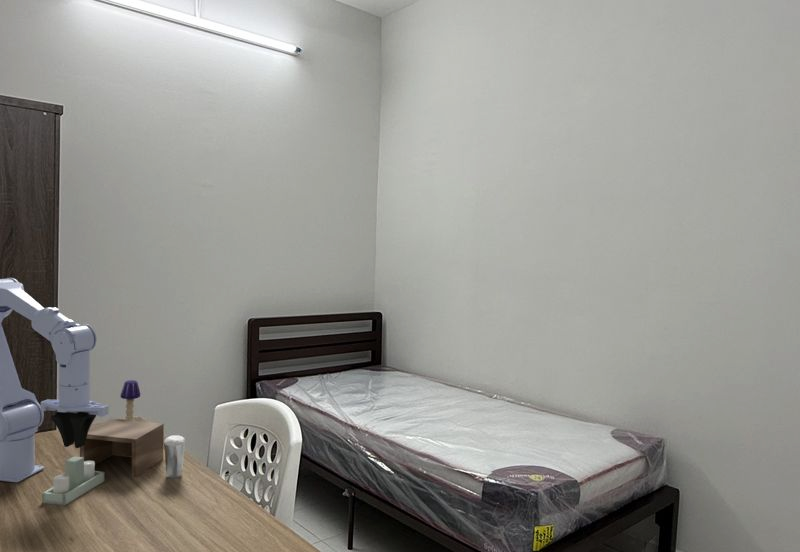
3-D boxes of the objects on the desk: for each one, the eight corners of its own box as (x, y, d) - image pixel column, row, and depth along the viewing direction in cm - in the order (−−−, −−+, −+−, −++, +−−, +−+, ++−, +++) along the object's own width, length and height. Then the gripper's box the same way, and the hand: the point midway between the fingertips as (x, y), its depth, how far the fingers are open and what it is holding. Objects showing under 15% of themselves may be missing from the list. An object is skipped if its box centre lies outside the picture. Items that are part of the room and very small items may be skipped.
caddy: (42, 502, 117) (42, 469, 117) (84, 478, 129) (84, 447, 128) (64, 505, 116) (64, 471, 116) (104, 480, 128) (104, 450, 127)
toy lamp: (133, 440, 152) (134, 378, 151) (143, 444, 150) (144, 381, 148) (115, 445, 149) (116, 381, 147) (125, 449, 146) (126, 384, 145)
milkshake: (180, 481, 129) (181, 437, 129) (159, 478, 130) (159, 435, 130) (192, 473, 134) (192, 431, 133) (171, 470, 135) (171, 428, 134)
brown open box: (79, 470, 133) (79, 433, 132) (111, 453, 143) (111, 418, 143) (135, 477, 130) (136, 439, 130) (163, 458, 141) (163, 423, 141)
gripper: (29, 385, 119) (29, 449, 120) (92, 390, 117) (92, 456, 118) (54, 376, 126) (54, 437, 127) (115, 382, 124) (114, 444, 125)
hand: (74, 445), depth 123 cm, fingers closed
